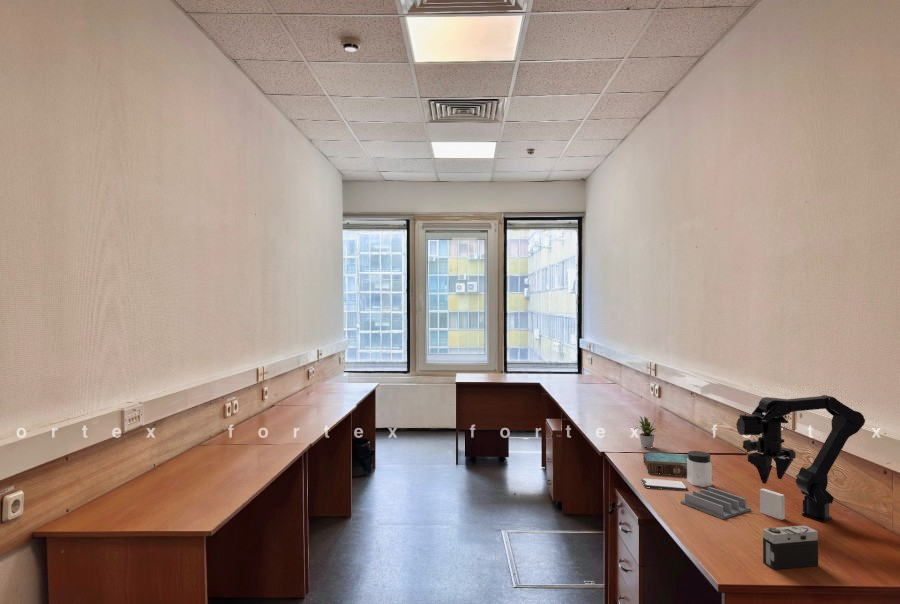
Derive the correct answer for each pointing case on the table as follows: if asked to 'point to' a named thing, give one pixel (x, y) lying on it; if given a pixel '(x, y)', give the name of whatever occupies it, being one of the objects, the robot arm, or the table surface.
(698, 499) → the dish rack
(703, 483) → the jar
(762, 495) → the white slab
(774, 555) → the camera
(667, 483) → the phone case
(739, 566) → the table surface
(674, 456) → the brown teal box
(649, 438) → the house plant
